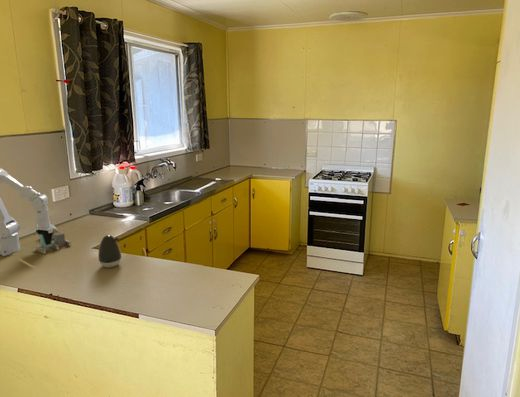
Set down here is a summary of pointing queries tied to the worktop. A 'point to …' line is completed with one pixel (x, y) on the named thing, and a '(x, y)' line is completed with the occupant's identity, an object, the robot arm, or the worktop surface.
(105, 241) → the dark grey egg shape
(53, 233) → the ceramic mug
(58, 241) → the grey plug
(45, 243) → the teal plug
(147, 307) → the worktop surface
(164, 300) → the worktop surface
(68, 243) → the brown tray
